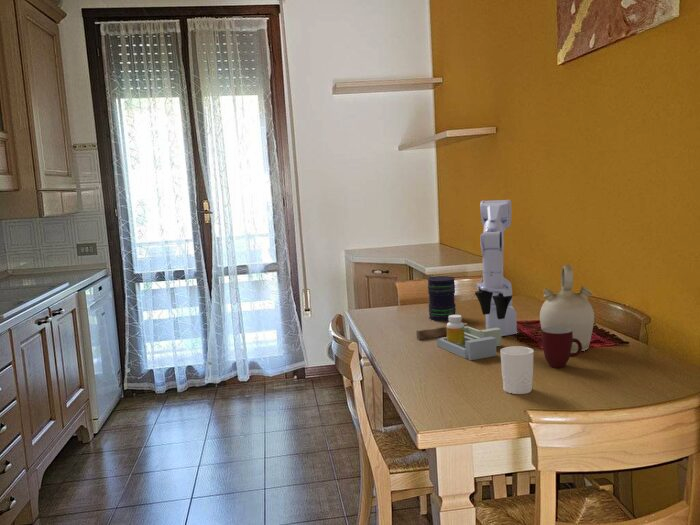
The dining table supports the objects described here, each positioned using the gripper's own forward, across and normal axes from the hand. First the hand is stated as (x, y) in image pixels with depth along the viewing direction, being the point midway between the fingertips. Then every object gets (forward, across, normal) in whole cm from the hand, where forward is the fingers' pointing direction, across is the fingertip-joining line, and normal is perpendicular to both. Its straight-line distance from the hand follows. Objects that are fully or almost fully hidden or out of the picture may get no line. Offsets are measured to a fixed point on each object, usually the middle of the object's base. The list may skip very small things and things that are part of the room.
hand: (493, 316), depth 198 cm
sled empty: (+10, -11, 0) cm, 15 cm away
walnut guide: (+10, -12, -5) cm, 16 cm away
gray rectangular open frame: (+10, -3, -8) cm, 13 cm away
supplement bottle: (+10, -8, -8) cm, 15 cm away
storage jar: (+10, -44, +8) cm, 46 cm away
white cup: (+10, +34, -17) cm, 39 cm away
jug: (+10, +11, +18) cm, 23 cm away
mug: (+10, +24, +5) cm, 27 cm away
